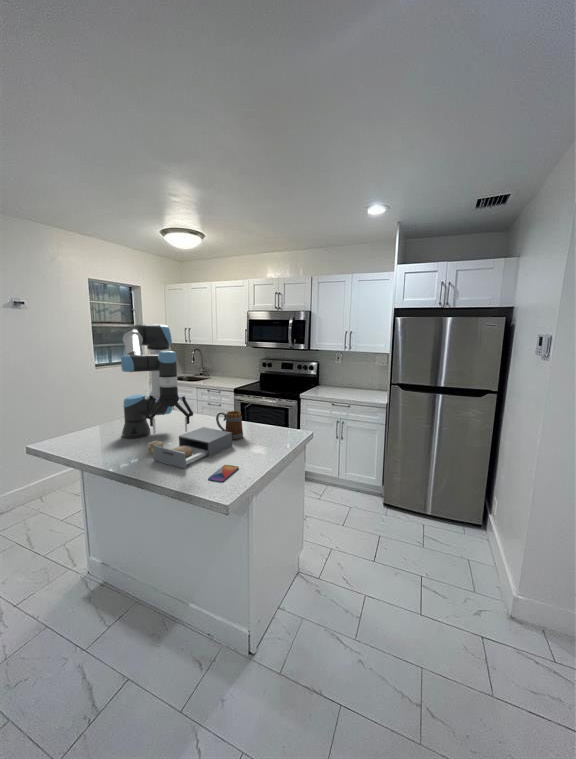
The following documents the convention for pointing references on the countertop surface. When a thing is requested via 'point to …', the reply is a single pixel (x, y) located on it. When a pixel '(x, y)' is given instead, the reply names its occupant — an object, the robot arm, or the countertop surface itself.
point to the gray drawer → (177, 456)
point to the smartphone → (223, 473)
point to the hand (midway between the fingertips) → (170, 432)
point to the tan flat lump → (185, 450)
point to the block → (151, 444)
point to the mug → (232, 423)
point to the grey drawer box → (207, 440)
